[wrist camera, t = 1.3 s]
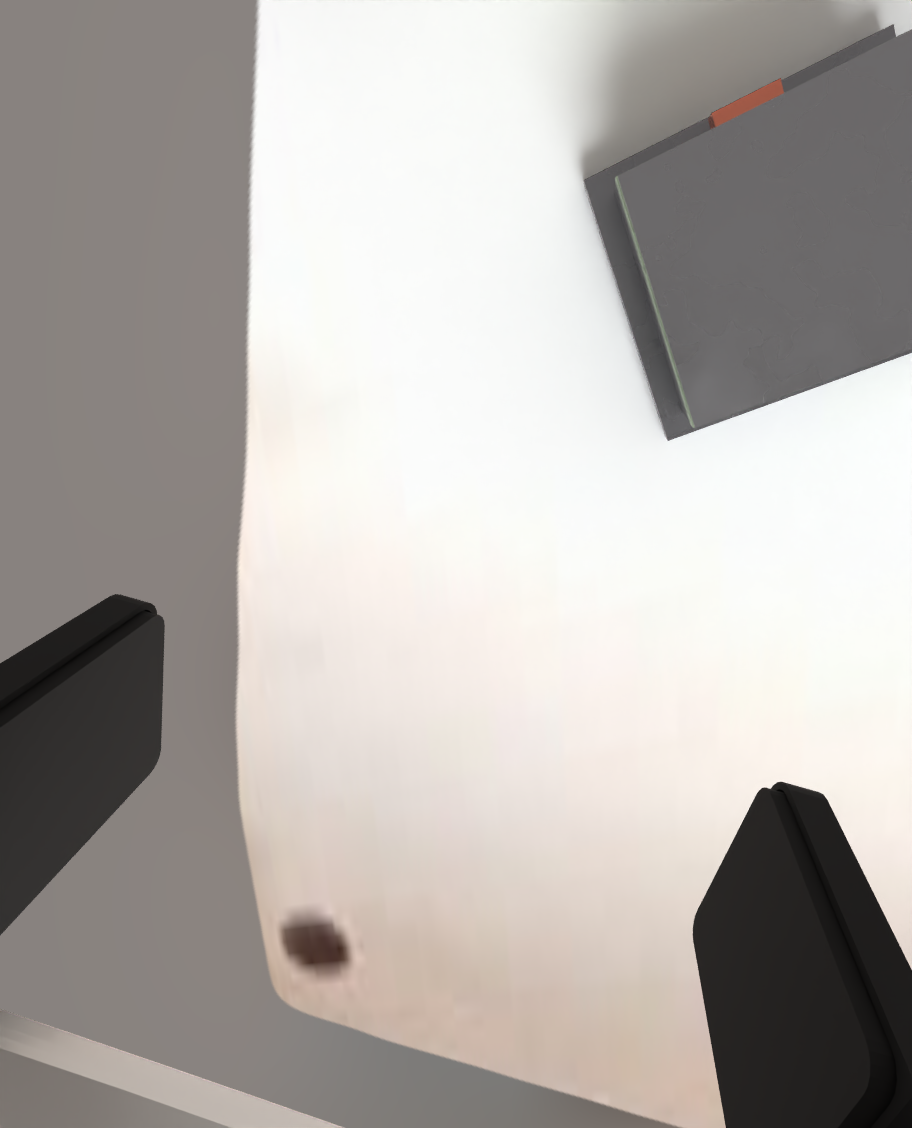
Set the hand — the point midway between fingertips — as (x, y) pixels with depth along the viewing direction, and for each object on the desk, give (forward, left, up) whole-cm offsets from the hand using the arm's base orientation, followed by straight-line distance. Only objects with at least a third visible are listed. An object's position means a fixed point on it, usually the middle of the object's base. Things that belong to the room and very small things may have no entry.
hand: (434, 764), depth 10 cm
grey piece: (-12, -4, -26) cm, 28 cm away
